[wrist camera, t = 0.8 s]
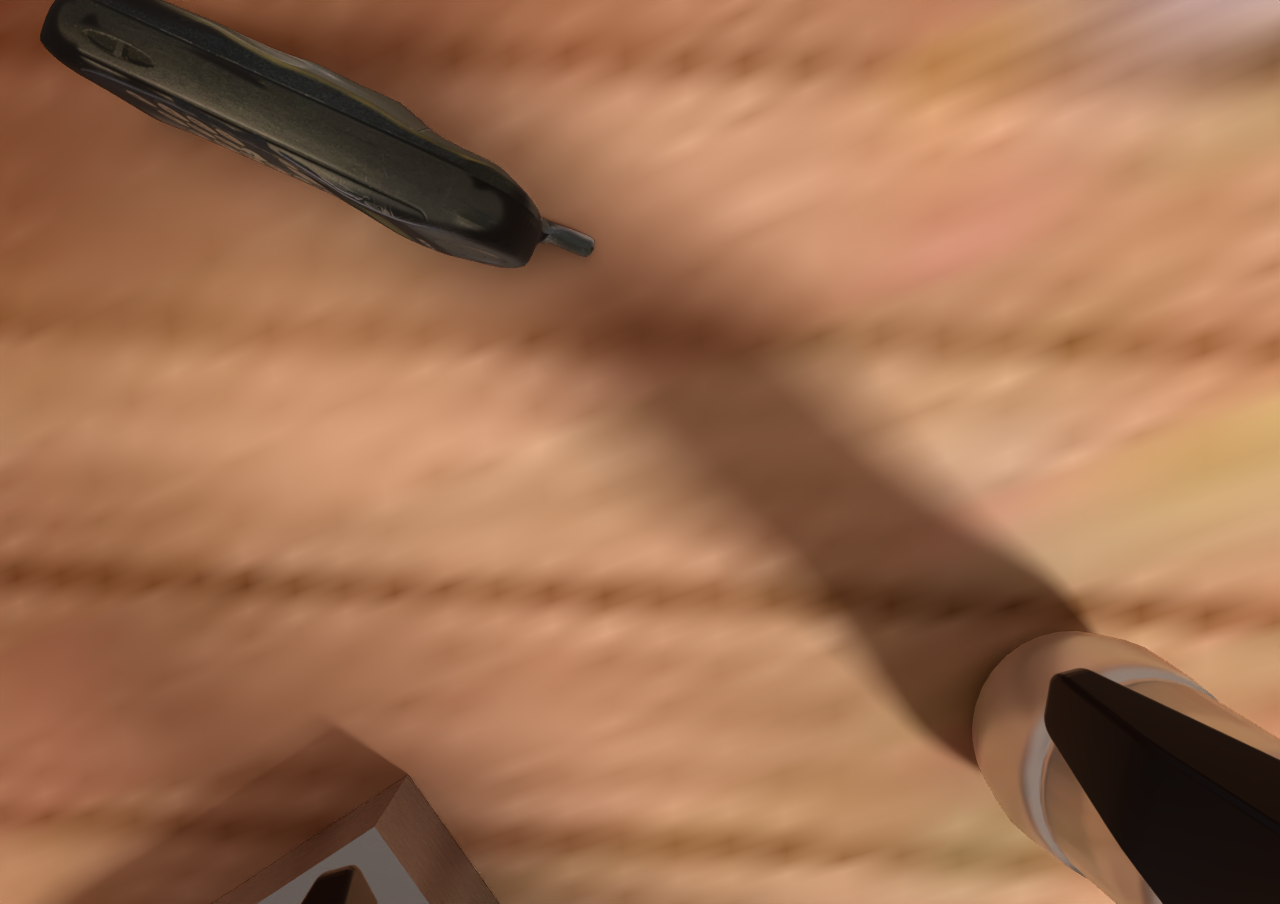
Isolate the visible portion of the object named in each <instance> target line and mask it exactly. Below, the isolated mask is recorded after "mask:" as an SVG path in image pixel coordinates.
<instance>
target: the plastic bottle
mask: <svg viewBox="0 0 1280 904" xmlns="http://www.w3.org/2000/svg"><path fill="white" fill-rule="evenodd" d="M1075 668H1085V669H1089V670H1092V671H1094V672H1096V673H1098V674H1100V675H1102V676H1104V677H1107V678H1109V679H1111V680H1113V681H1115V682H1117V683H1119V684H1121V685H1123V686H1126V687H1128V688H1130V689H1132V690H1134V691H1136V692H1138V693H1140V694H1143V695H1145V696H1147V697H1149V698H1151V699H1153V700H1155V701H1157V702H1159V703H1162V704H1164V705H1166V706H1168V707H1170V708H1172V709H1174V710H1176V711H1178V712H1181V713H1183V714H1185V715H1187V716H1189V717H1191V718H1193V719H1195V720H1197V721H1200V722H1202V723H1204V724H1206V725H1208V726H1210V727H1212V728H1214V729H1216V730H1219V731H1221V732H1223V733H1225V734H1227V735H1229V736H1231V737H1233V738H1235V739H1238V740H1240V741H1242V742H1244V743H1246V744H1248V745H1250V746H1252V747H1255V748H1257V749H1259V750H1261V751H1263V752H1265V753H1267V754H1269V755H1271V756H1274V757H1276V758H1278V759H1280V739H1279V738H1277V737H1276V736H1274V735H1272V734H1271V733H1269V732H1267V731H1266V730H1264V729H1263V728H1261V727H1259V726H1258V725H1256V724H1254V723H1253V722H1251V721H1249V720H1248V719H1246V718H1245V717H1243V716H1241V715H1240V714H1238V713H1236V712H1235V711H1233V710H1231V709H1230V708H1228V707H1227V706H1225V705H1223V704H1222V703H1220V702H1219V701H1218V700H1217V699H1216V698H1215V697H1214V696H1212V695H1211V694H1210V693H1209V692H1208V691H1207V690H1206V689H1204V688H1203V687H1202V686H1201V685H1200V684H1198V683H1197V682H1196V681H1195V680H1194V679H1192V678H1191V677H1189V676H1188V675H1186V674H1185V673H1183V672H1182V671H1180V670H1179V669H1177V668H1176V667H1174V666H1173V665H1171V664H1170V663H1168V662H1167V661H1165V660H1164V659H1162V658H1161V657H1159V656H1158V655H1156V654H1154V653H1153V652H1151V651H1150V650H1148V649H1146V648H1145V647H1142V646H1140V645H1137V644H1134V643H1131V642H1128V641H1126V640H1122V639H1117V638H1113V637H1108V636H1103V635H1099V634H1094V633H1087V632H1080V631H1063V632H1054V633H1050V634H1046V635H1042V636H1039V637H1036V638H1034V639H1032V640H1030V641H1028V642H1026V643H1024V644H1022V645H1020V646H1019V647H1017V648H1016V649H1015V650H1013V651H1012V652H1011V653H1009V654H1008V655H1007V656H1005V657H1004V658H1003V660H1002V661H1001V662H1000V663H999V664H998V665H997V666H996V667H995V668H994V669H993V671H992V672H991V674H990V675H989V677H988V678H987V680H986V682H985V683H984V685H983V687H982V689H981V692H980V695H979V697H978V700H977V703H976V705H975V711H974V717H973V723H972V735H973V747H974V751H975V756H976V760H977V763H978V765H979V768H980V770H981V772H982V774H983V777H984V779H985V780H986V782H987V784H988V786H989V787H990V789H991V791H992V793H993V794H994V796H995V798H996V800H997V801H998V803H999V805H1000V806H1001V808H1002V809H1003V810H1004V812H1005V813H1006V815H1007V816H1008V817H1009V819H1010V820H1011V822H1012V823H1014V824H1015V825H1016V826H1017V827H1018V828H1019V829H1020V830H1021V831H1022V832H1023V833H1024V834H1025V835H1026V836H1028V837H1029V838H1030V839H1031V840H1033V841H1034V842H1035V843H1036V844H1038V845H1039V846H1040V847H1041V848H1043V849H1044V850H1045V851H1047V852H1048V853H1049V854H1050V855H1052V856H1053V857H1054V858H1055V859H1057V860H1058V861H1060V862H1062V863H1063V864H1065V865H1066V866H1068V867H1069V868H1071V869H1073V870H1074V871H1076V872H1077V873H1079V874H1081V875H1082V876H1084V877H1086V878H1087V879H1089V880H1090V881H1091V882H1092V883H1093V884H1094V885H1096V886H1097V887H1098V888H1099V889H1100V890H1101V891H1103V892H1104V893H1105V894H1106V895H1107V896H1108V897H1109V898H1111V899H1112V900H1113V901H1114V902H1115V903H1116V904H1162V902H1161V901H1160V900H1159V898H1158V897H1157V896H1156V895H1155V893H1154V892H1153V891H1152V889H1151V888H1150V887H1149V885H1148V884H1147V883H1146V881H1145V880H1144V879H1143V878H1142V876H1141V875H1140V874H1139V872H1138V871H1137V870H1136V868H1135V867H1134V866H1133V864H1132V863H1131V862H1130V860H1129V859H1128V857H1127V856H1126V855H1125V853H1124V852H1123V851H1122V849H1121V848H1120V846H1119V845H1118V843H1117V842H1116V840H1115V839H1114V837H1113V836H1112V834H1111V833H1110V831H1109V830H1108V828H1107V827H1106V825H1105V824H1104V822H1103V820H1102V819H1101V817H1100V816H1099V814H1098V812H1097V811H1096V809H1095V808H1094V806H1093V805H1092V803H1091V801H1090V800H1089V798H1088V797H1087V795H1086V793H1085V792H1084V790H1083V789H1082V787H1081V786H1080V784H1079V782H1078V781H1077V779H1076V778H1075V776H1074V774H1073V773H1072V771H1071V770H1070V768H1069V767H1068V765H1067V763H1066V762H1065V760H1064V759H1063V757H1062V755H1061V754H1060V752H1059V751H1058V749H1057V747H1056V746H1055V744H1054V743H1053V741H1052V740H1051V738H1050V736H1049V734H1048V732H1047V730H1046V727H1045V723H1044V712H1045V706H1046V700H1047V694H1048V688H1049V682H1050V679H1051V678H1052V676H1053V675H1055V674H1057V673H1060V672H1064V671H1068V670H1071V669H1075Z"/></svg>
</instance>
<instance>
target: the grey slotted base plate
mask: <svg viewBox="0 0 1280 904" xmlns="http://www.w3.org/2000/svg"><path fill="white" fill-rule="evenodd" d="M348 865H355V866H357V867H359V868H360V870H361V871H362V873H363V875H364V877H365V879H366V881H367V882H368V884H369V886H370V888H371V890H372V892H373V894H374V895H375V897H376V899H377V901H378V904H499V903H498V901H497V900H496V899H495V897H494V896H493V894H492V893H491V892H490V890H489V889H488V887H487V886H486V884H485V883H484V882H483V880H482V879H481V877H480V876H479V875H478V873H477V872H476V870H475V869H474V868H473V866H472V865H471V863H470V862H469V860H468V859H467V858H466V856H465V855H464V853H463V852H462V851H461V849H460V848H459V846H458V845H457V843H456V842H455V841H454V839H453V838H452V836H451V835H450V834H449V832H448V831H447V829H446V828H445V826H444V825H443V824H442V822H441V821H440V819H439V818H438V817H437V815H436V814H435V812H434V811H433V809H432V808H431V807H430V805H429V804H428V802H427V801H426V800H425V798H424V797H423V795H422V794H421V792H420V791H419V790H418V788H417V787H416V785H415V784H414V783H413V781H412V780H411V778H410V777H409V775H407V776H405V777H404V778H402V779H401V780H399V781H398V782H396V783H395V784H393V785H392V786H390V787H389V788H387V789H386V790H384V791H383V792H381V793H380V794H378V795H376V796H375V797H373V798H372V799H370V800H369V801H367V802H366V803H364V804H363V805H361V806H360V807H358V808H357V809H355V810H354V811H352V812H351V813H349V814H348V815H346V816H345V817H343V818H342V819H340V820H338V821H337V822H335V823H334V824H332V825H331V826H329V827H328V828H326V829H325V830H323V831H322V832H320V833H319V834H317V835H316V836H314V837H313V838H311V839H310V840H308V841H307V842H305V843H304V844H302V845H300V846H299V847H297V848H296V849H294V850H293V851H291V852H290V853H288V854H287V855H285V856H284V857H282V858H281V859H279V860H278V861H276V862H275V863H273V864H272V865H270V866H269V867H267V868H266V869H264V870H262V871H261V872H259V873H258V874H256V875H255V876H253V877H252V878H250V879H249V880H247V881H246V882H244V883H243V884H241V885H240V886H238V887H237V888H235V889H234V890H232V891H231V892H229V893H228V894H226V895H224V896H223V897H221V898H220V899H218V900H217V901H215V902H214V903H212V904H301V902H302V901H303V899H304V898H305V896H306V894H307V893H308V891H309V890H310V888H311V886H312V885H313V883H314V882H315V880H316V879H317V878H318V877H319V876H320V875H321V874H322V873H324V872H326V871H330V870H333V869H337V868H341V867H344V866H348Z"/></svg>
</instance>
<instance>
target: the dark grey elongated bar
mask: <svg viewBox="0 0 1280 904" xmlns="http://www.w3.org/2000/svg"><path fill="white" fill-rule="evenodd" d="M40 41H41V42H42V43H43V45H44V46H45V47H46V49H47V50H48V51H49V52H50V53H51V54H52V55H53V56H54V57H56V58H57V59H58V60H59V61H60V62H62V63H63V64H64V65H66V66H67V67H69V68H70V69H72V70H73V71H75V72H76V73H78V74H80V75H81V76H83V77H85V78H86V79H88V80H90V81H92V82H93V83H95V84H97V85H99V86H101V87H102V88H104V89H106V90H108V91H109V92H111V93H113V94H114V95H116V96H118V97H119V98H121V99H123V100H124V101H126V102H128V103H129V104H131V105H133V106H134V107H136V108H138V109H139V110H141V111H143V112H144V113H146V114H148V115H149V116H151V117H153V118H155V119H157V120H159V121H162V122H164V123H167V124H169V125H172V126H174V127H177V128H179V129H182V130H185V131H188V132H191V133H193V134H195V135H198V136H200V137H202V138H205V139H207V140H209V141H212V142H214V143H216V144H218V145H221V146H223V147H225V148H228V149H230V150H232V151H235V152H237V153H239V154H241V155H244V156H246V157H248V158H251V159H253V160H255V161H257V162H260V163H262V164H264V165H267V166H269V167H271V168H274V169H276V170H278V171H280V172H283V173H285V174H287V175H290V176H292V177H294V178H297V179H299V180H301V181H304V182H306V183H308V184H310V185H313V186H315V187H317V188H319V189H321V190H323V191H326V192H328V193H330V194H332V195H334V196H336V197H338V198H340V199H341V200H343V201H345V202H347V203H348V204H350V205H352V206H353V207H355V208H357V209H358V210H360V211H361V212H363V213H365V214H366V215H368V216H370V217H371V218H373V219H374V220H376V221H378V222H379V223H381V224H383V225H384V226H386V227H387V228H389V229H391V230H392V231H394V232H396V233H398V234H399V235H401V236H403V237H405V238H407V239H410V240H412V241H414V242H416V243H419V244H421V245H423V246H426V247H428V248H431V249H433V250H436V251H438V252H441V253H444V254H447V255H451V256H455V257H459V258H463V259H468V260H472V261H476V262H480V263H484V264H488V265H492V266H497V267H503V268H516V267H522V266H525V265H526V263H527V262H528V261H529V260H530V258H531V256H532V254H533V251H534V249H535V247H536V245H537V244H538V243H551V244H553V245H556V246H558V247H561V248H563V249H566V250H568V251H571V252H573V253H576V254H578V255H581V256H584V257H587V256H589V255H590V254H591V252H592V251H593V249H594V243H595V240H594V239H592V238H591V237H590V236H588V235H585V234H583V233H580V232H578V231H575V230H572V229H569V228H567V227H564V226H560V225H557V224H555V223H552V222H550V221H547V220H545V219H543V218H541V217H540V213H539V211H538V209H537V207H536V206H535V204H534V203H533V201H532V200H531V198H530V197H529V196H528V195H527V193H526V192H525V191H524V190H523V189H522V188H521V187H520V186H519V185H518V184H517V183H516V182H515V181H514V180H513V179H512V178H511V177H510V176H509V175H508V174H507V173H506V172H505V171H504V170H503V169H502V168H500V167H499V166H497V165H496V164H494V163H492V162H490V161H488V160H486V159H484V158H482V157H480V156H478V155H476V154H474V153H472V152H470V151H468V150H466V149H463V148H461V147H459V146H457V145H455V144H453V143H451V142H449V141H447V140H445V139H444V138H442V137H440V136H439V135H437V134H436V133H434V132H433V131H432V130H431V129H429V128H428V127H427V126H426V125H425V124H424V123H423V122H422V121H421V120H420V119H419V118H417V117H416V116H415V115H414V114H413V113H412V112H411V111H410V110H408V109H407V108H406V107H405V106H403V105H402V104H401V103H399V102H397V101H395V100H393V99H391V98H389V97H387V96H384V95H382V94H380V93H378V92H375V91H373V90H371V89H368V88H366V87H364V86H362V85H359V84H357V83H355V82H353V81H351V80H349V79H347V78H345V77H343V76H341V75H339V74H337V73H335V72H333V71H331V70H329V69H327V68H325V67H322V66H320V65H318V64H316V63H313V62H311V61H308V60H305V59H301V58H298V57H295V56H292V55H289V54H286V53H284V52H281V51H278V50H276V49H273V48H271V47H268V46H266V45H264V44H262V43H259V42H257V41H255V40H253V39H251V38H248V37H246V36H244V35H242V34H240V33H238V32H236V31H234V30H232V29H230V28H227V27H225V26H223V25H221V24H218V23H216V22H214V21H212V20H209V19H207V18H204V17H202V16H200V15H197V14H195V13H192V12H190V11H187V10H185V9H182V8H180V7H178V6H175V5H173V4H170V3H168V2H165V1H163V0H55V1H54V3H53V4H52V6H51V7H50V9H49V12H48V14H47V16H46V19H45V21H44V24H43V27H42V31H41V34H40Z"/></svg>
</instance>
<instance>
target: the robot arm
mask: <svg viewBox="0 0 1280 904" xmlns="http://www.w3.org/2000/svg"><path fill="white" fill-rule="evenodd" d="M1044 723H1045V727H1046V730H1047V732H1048V734H1049V736H1050V738H1051V740H1052V741H1053V743H1054V744H1055V746H1056V747H1057V749H1058V751H1059V752H1060V754H1061V755H1062V757H1063V759H1064V760H1065V762H1066V763H1067V765H1068V767H1069V768H1070V770H1071V771H1072V773H1073V774H1074V776H1075V778H1076V779H1077V781H1078V782H1079V784H1080V786H1081V787H1082V789H1083V790H1084V792H1085V793H1086V795H1087V797H1088V798H1089V800H1090V801H1091V803H1092V805H1093V806H1094V808H1095V809H1096V811H1097V812H1098V814H1099V816H1100V817H1101V819H1102V820H1103V822H1104V824H1105V825H1106V827H1107V828H1108V830H1109V831H1110V833H1111V834H1112V836H1113V837H1114V839H1115V840H1116V842H1117V843H1118V845H1119V846H1120V848H1121V849H1122V851H1123V852H1124V853H1125V855H1126V856H1127V857H1128V859H1129V860H1130V862H1131V863H1132V864H1133V866H1134V867H1135V868H1136V870H1137V871H1138V872H1139V874H1140V875H1141V876H1142V878H1143V879H1144V880H1145V881H1146V883H1147V884H1148V885H1149V887H1150V888H1151V889H1152V891H1153V892H1154V893H1155V895H1156V896H1157V897H1158V898H1159V900H1160V901H1161V902H1162V904H1280V759H1278V758H1276V757H1274V756H1271V755H1269V754H1267V753H1265V752H1263V751H1261V750H1259V749H1257V748H1255V747H1252V746H1250V745H1248V744H1246V743H1244V742H1242V741H1240V740H1238V739H1235V738H1233V737H1231V736H1229V735H1227V734H1225V733H1223V732H1221V731H1219V730H1216V729H1214V728H1212V727H1210V726H1208V725H1206V724H1204V723H1202V722H1200V721H1197V720H1195V719H1193V718H1191V717H1189V716H1187V715H1185V714H1183V713H1181V712H1178V711H1176V710H1174V709H1172V708H1170V707H1168V706H1166V705H1164V704H1162V703H1159V702H1157V701H1155V700H1153V699H1151V698H1149V697H1147V696H1145V695H1143V694H1140V693H1138V692H1136V691H1134V690H1132V689H1130V688H1128V687H1126V686H1123V685H1121V684H1119V683H1117V682H1115V681H1113V680H1111V679H1109V678H1107V677H1104V676H1102V675H1100V674H1098V673H1096V672H1094V671H1092V670H1089V669H1085V668H1075V669H1071V670H1068V671H1064V672H1060V673H1057V674H1055V675H1053V676H1052V678H1051V679H1050V682H1049V688H1048V694H1047V700H1046V706H1045V712H1044ZM301 904H378V901H377V899H376V897H375V895H374V894H373V892H372V890H371V888H370V886H369V884H368V882H367V881H366V879H365V877H364V875H363V873H362V871H361V870H360V868H359V867H357V866H355V865H348V866H344V867H341V868H337V869H333V870H330V871H326V872H324V873H322V874H321V875H320V876H319V877H318V878H317V879H316V880H315V882H314V883H313V885H312V886H311V888H310V890H309V891H308V893H307V894H306V896H305V898H304V899H303V901H302V902H301Z"/></svg>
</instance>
